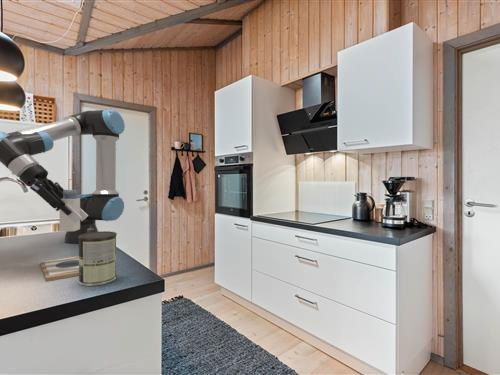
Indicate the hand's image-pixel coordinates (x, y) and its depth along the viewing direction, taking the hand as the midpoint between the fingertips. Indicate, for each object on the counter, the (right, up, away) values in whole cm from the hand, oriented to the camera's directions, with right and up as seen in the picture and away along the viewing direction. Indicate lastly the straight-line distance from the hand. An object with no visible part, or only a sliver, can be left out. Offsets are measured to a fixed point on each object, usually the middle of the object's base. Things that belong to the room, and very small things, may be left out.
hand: (81, 219), depth 98 cm
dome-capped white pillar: (-4, -4, -1) cm, 5 cm away
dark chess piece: (-7, -17, +18) cm, 25 cm away
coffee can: (+12, -18, -12) cm, 24 cm away
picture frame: (-4, -17, 0) cm, 17 cm away
